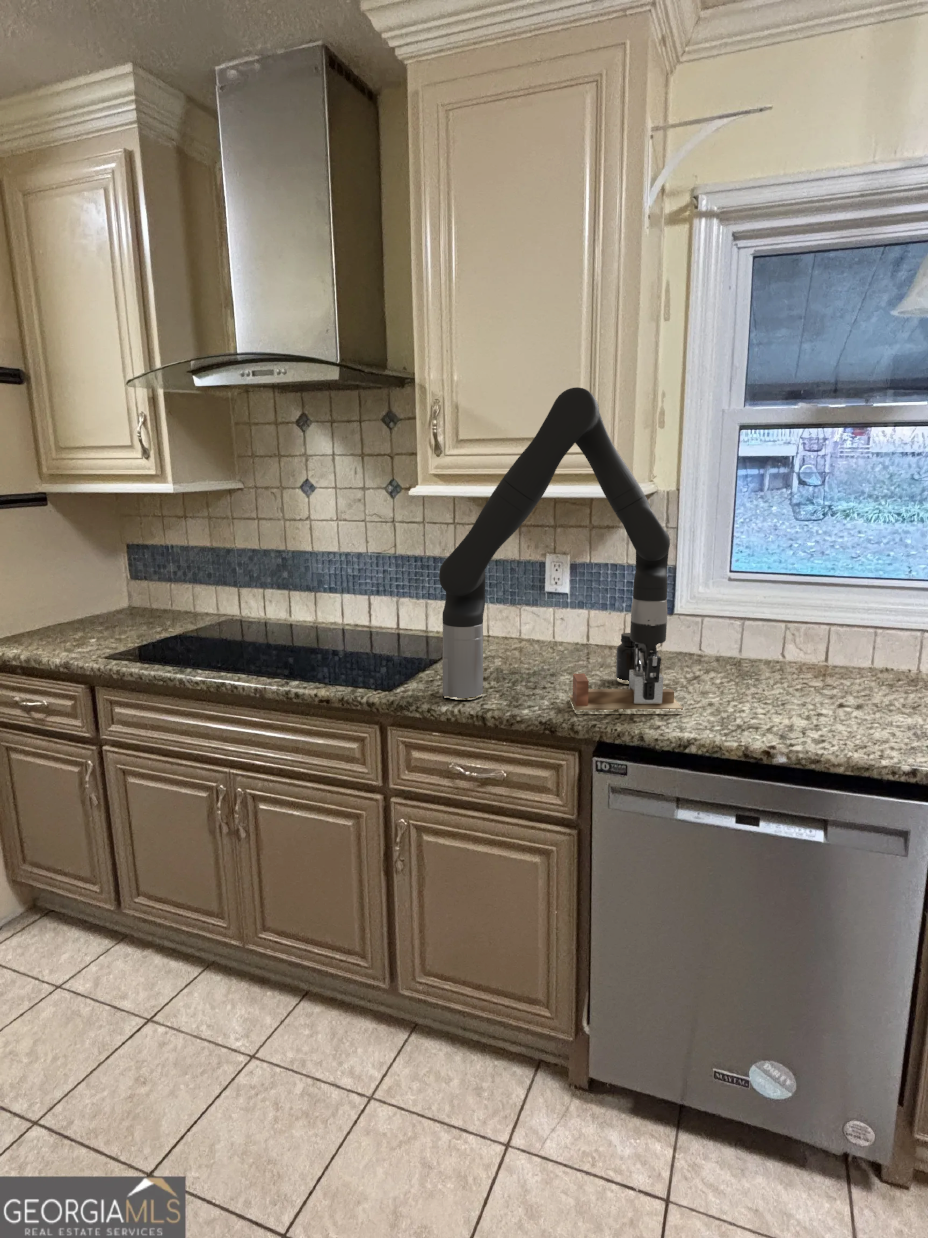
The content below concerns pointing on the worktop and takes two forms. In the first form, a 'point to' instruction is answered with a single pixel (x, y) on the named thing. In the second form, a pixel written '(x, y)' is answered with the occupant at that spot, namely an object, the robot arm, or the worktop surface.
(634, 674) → the block
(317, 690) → the worktop surface
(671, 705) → the rail
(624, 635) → the supplement bottle
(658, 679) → the robot arm
